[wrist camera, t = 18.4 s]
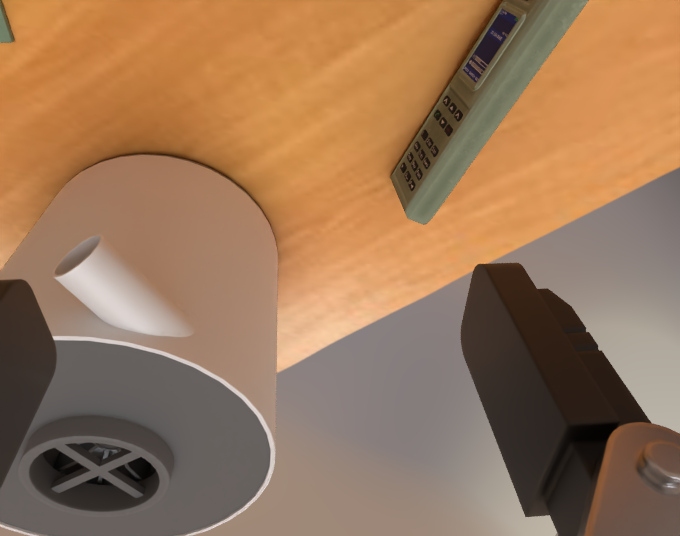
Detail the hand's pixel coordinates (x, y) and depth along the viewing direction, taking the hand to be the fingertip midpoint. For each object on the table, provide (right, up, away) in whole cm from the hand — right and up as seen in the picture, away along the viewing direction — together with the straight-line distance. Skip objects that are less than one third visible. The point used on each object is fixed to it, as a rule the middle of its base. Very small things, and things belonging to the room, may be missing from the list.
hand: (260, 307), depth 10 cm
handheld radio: (+13, +18, +31) cm, 38 cm away
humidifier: (-14, +4, +38) cm, 41 cm away
